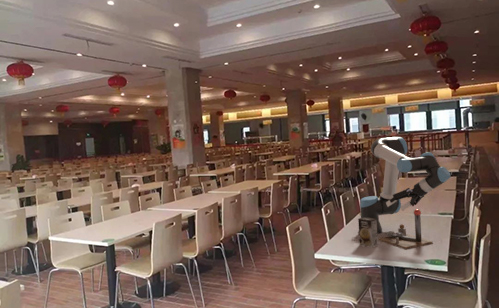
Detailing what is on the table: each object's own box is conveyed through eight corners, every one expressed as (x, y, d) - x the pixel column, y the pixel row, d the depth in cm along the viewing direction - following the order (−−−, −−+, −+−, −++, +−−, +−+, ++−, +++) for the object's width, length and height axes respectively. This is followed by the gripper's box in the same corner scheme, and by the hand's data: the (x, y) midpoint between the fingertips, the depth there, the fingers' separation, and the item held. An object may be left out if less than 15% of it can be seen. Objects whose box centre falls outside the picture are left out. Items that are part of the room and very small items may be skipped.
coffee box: (359, 245, 251) (357, 218, 250) (365, 242, 255) (363, 216, 254) (372, 247, 244) (370, 220, 243) (378, 245, 248) (376, 218, 247)
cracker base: (403, 235, 266) (402, 222, 265) (432, 243, 244) (432, 229, 243) (378, 240, 258) (377, 227, 258) (406, 249, 236) (405, 235, 236)
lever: (387, 237, 258) (385, 207, 257) (390, 235, 261) (389, 206, 260) (420, 242, 242) (418, 210, 241) (423, 240, 245) (422, 209, 244)
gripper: (413, 188, 221) (383, 208, 233) (439, 197, 234) (409, 215, 247) (407, 176, 226) (378, 197, 238) (433, 186, 239) (404, 205, 251)
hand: (394, 206), depth 242 cm, fingers open, 13 cm apart
